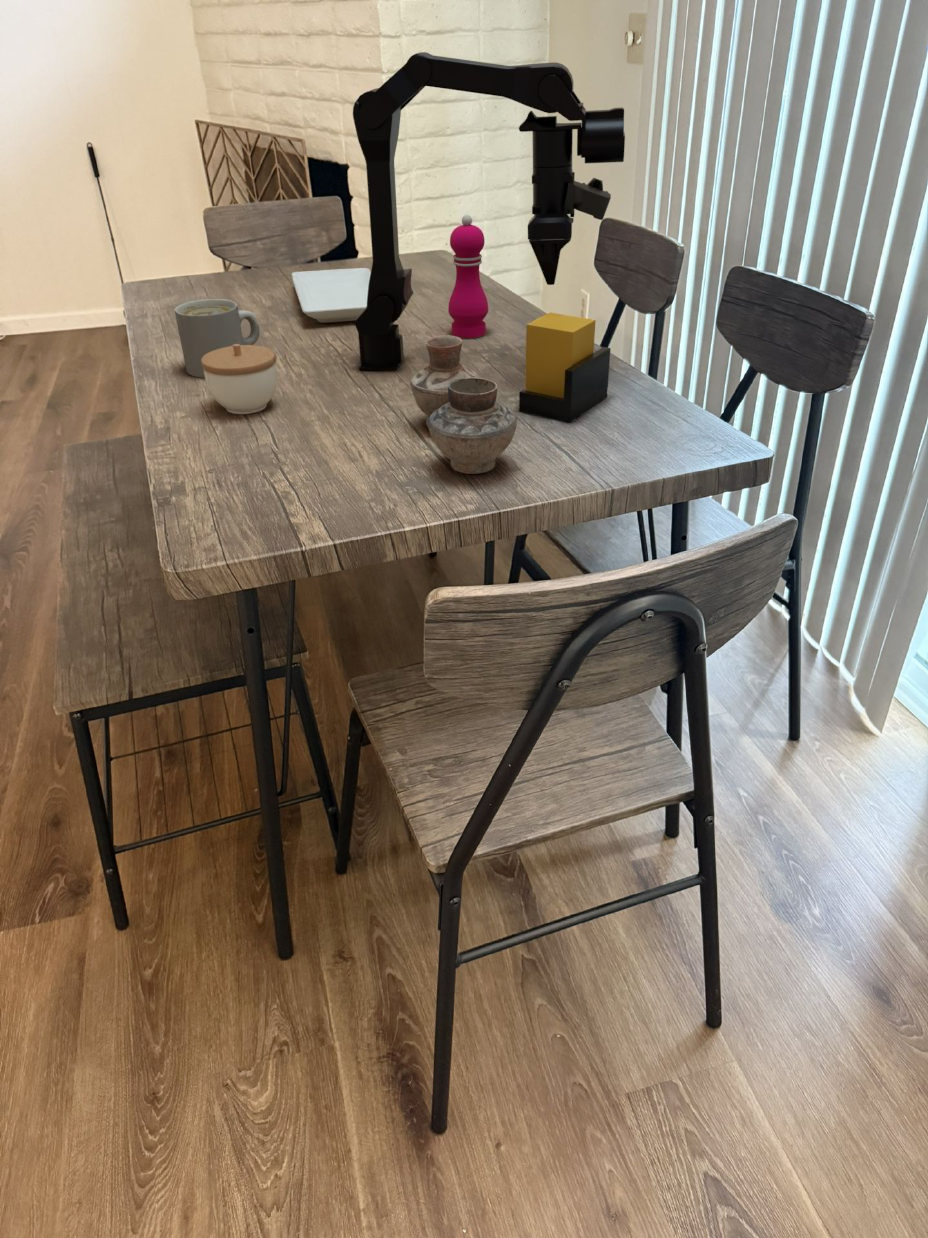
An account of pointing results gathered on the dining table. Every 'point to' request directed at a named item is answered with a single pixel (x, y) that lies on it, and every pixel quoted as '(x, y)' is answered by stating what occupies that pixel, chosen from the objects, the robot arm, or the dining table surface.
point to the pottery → (461, 409)
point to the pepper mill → (467, 282)
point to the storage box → (555, 350)
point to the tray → (332, 293)
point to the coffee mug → (211, 329)
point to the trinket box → (241, 377)
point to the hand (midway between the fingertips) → (552, 276)
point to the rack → (573, 390)
